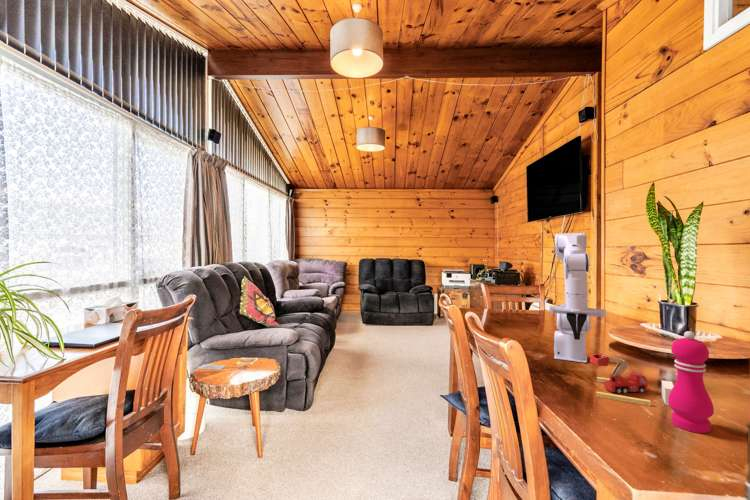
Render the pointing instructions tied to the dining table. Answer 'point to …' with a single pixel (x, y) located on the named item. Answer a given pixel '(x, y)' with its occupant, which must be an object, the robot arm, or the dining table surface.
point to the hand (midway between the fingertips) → (577, 338)
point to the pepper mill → (690, 386)
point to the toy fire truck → (618, 382)
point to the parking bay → (666, 391)
